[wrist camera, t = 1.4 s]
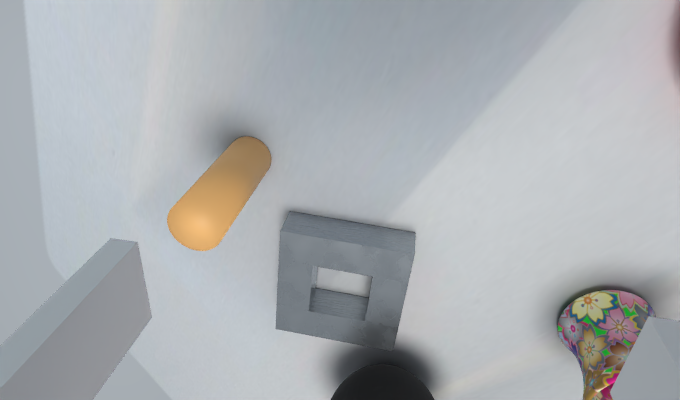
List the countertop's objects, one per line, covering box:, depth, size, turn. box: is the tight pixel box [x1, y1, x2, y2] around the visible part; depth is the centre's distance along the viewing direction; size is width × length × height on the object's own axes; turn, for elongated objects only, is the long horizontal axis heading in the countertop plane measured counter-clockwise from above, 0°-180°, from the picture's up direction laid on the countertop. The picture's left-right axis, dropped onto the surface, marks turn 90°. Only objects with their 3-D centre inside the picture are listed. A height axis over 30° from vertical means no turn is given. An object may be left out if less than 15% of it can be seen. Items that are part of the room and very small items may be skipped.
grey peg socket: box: [276, 211, 415, 351], centre depth 46 cm, size 12×12×4 cm
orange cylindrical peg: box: [167, 136, 271, 251], centre depth 38 cm, size 4×4×12 cm
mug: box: [558, 290, 656, 400], centre depth 41 cm, size 12×9×11 cm
